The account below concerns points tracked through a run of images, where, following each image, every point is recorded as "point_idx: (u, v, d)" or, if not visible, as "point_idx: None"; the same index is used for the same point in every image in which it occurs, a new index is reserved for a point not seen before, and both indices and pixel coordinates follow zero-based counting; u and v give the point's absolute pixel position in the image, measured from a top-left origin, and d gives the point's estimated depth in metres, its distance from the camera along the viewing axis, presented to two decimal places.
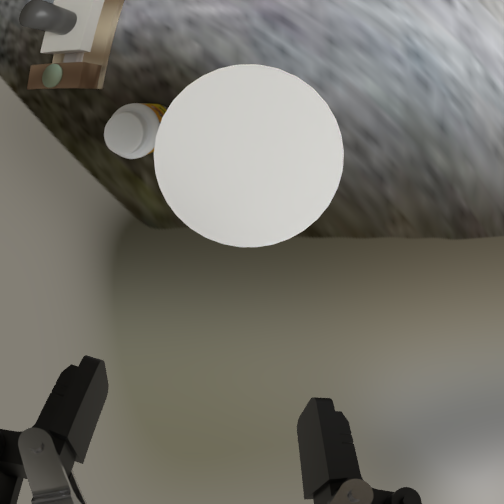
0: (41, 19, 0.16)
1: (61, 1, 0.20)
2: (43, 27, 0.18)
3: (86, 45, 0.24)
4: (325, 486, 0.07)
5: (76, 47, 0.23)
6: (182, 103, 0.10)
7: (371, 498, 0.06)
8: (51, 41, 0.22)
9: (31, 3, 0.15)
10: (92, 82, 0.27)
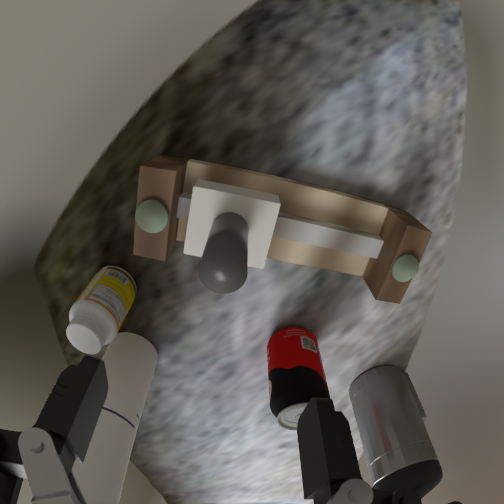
0: None
1: (272, 217, 0.25)
2: None
3: None
4: (325, 486, 0.07)
5: (187, 248, 0.26)
6: None
7: (371, 498, 0.06)
8: (206, 206, 0.24)
9: (240, 272, 0.19)
10: None
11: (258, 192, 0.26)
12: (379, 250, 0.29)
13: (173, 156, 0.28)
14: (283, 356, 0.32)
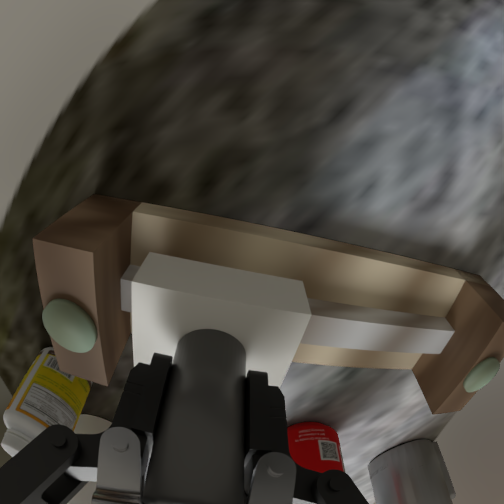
0: None
1: (293, 336, 0.12)
2: None
3: None
4: (250, 458, 0.08)
5: None
6: None
7: (293, 475, 0.07)
8: (162, 318, 0.12)
9: None
10: None
11: (266, 281, 0.13)
12: (445, 343, 0.17)
13: (112, 198, 0.15)
14: None
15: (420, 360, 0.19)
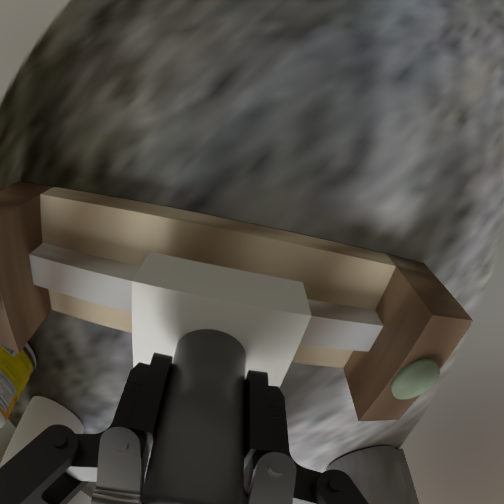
0: None
1: (292, 337, 0.12)
2: None
3: None
4: (250, 458, 0.08)
5: None
6: None
7: (293, 475, 0.07)
8: (162, 318, 0.12)
9: None
10: None
11: (266, 281, 0.13)
12: (373, 339, 0.16)
13: (31, 184, 0.15)
14: None
15: (351, 358, 0.18)
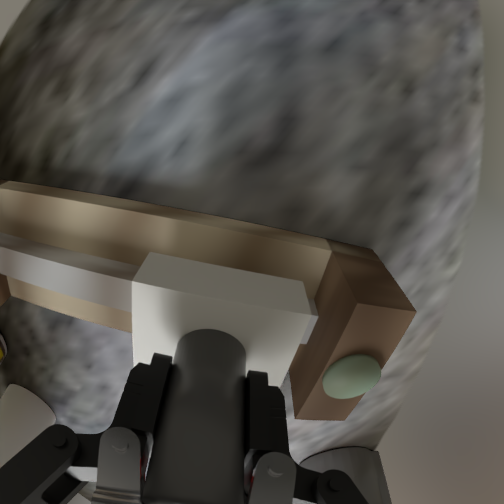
0: None
1: (293, 337, 0.12)
2: None
3: None
4: (250, 458, 0.08)
5: None
6: None
7: (293, 475, 0.07)
8: (162, 318, 0.12)
9: None
10: None
11: (266, 281, 0.13)
12: (309, 331, 0.16)
13: None
14: None
15: None
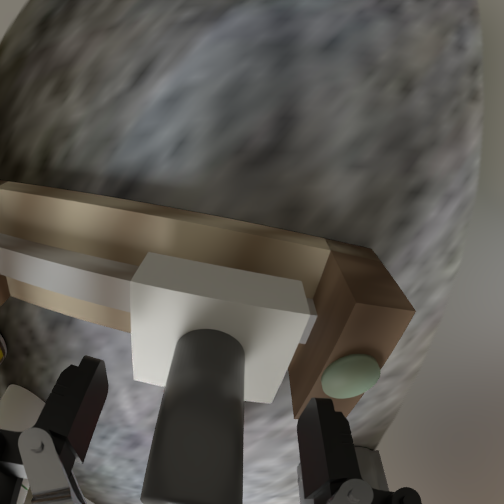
0: None
1: (292, 336, 0.12)
2: None
3: None
4: (325, 486, 0.07)
5: (138, 374, 0.13)
6: None
7: (371, 498, 0.06)
8: (161, 318, 0.12)
9: None
10: None
11: (265, 281, 0.13)
12: (308, 331, 0.16)
13: None
14: None
15: None
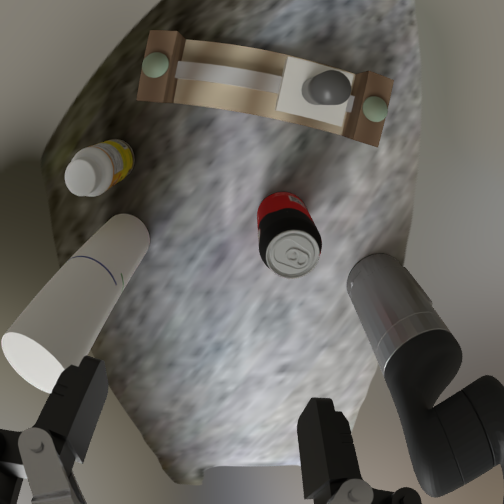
0: (318, 98, 0.23)
1: None
2: (310, 90, 0.24)
3: (281, 111, 0.30)
4: (325, 486, 0.07)
5: (280, 105, 0.28)
6: (40, 347, 0.18)
7: (371, 498, 0.06)
8: (298, 71, 0.27)
9: (346, 88, 0.21)
10: None
11: None
12: (351, 104, 0.31)
13: None
14: (271, 206, 0.34)
15: (344, 126, 0.33)
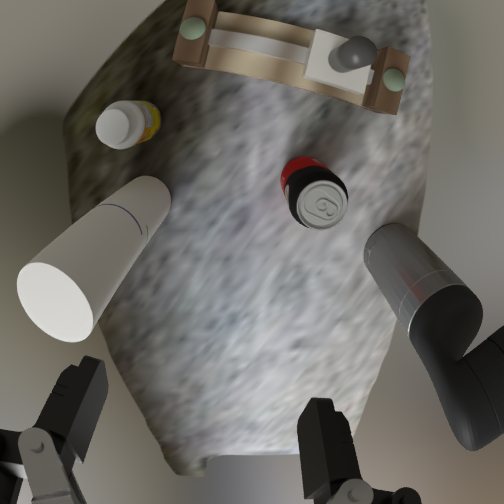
0: (348, 60, 0.23)
1: None
2: (339, 54, 0.24)
3: (308, 77, 0.30)
4: (325, 486, 0.07)
5: (308, 71, 0.29)
6: (65, 278, 0.18)
7: (371, 498, 0.06)
8: (325, 42, 0.27)
9: (373, 52, 0.22)
10: (184, 63, 0.30)
11: None
12: (371, 77, 0.31)
13: None
14: (298, 165, 0.34)
15: (364, 97, 0.33)
